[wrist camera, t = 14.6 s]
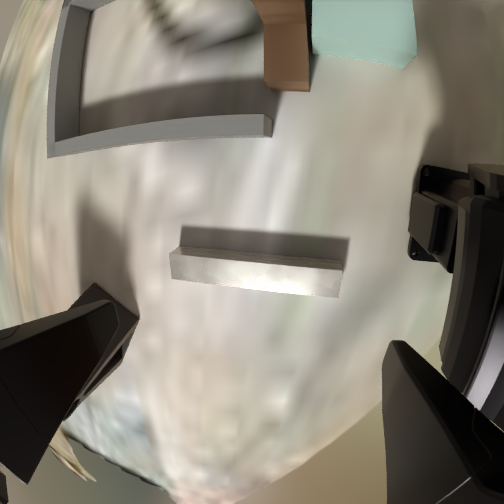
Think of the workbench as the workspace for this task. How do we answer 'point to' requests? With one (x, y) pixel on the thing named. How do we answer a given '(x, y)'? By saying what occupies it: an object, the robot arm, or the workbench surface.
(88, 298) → the phone stand
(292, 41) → the wooden l-shaped block
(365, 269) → the workbench surface
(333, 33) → the teal block
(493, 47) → the workbench surface
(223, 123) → the cubby
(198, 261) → the steel bar
